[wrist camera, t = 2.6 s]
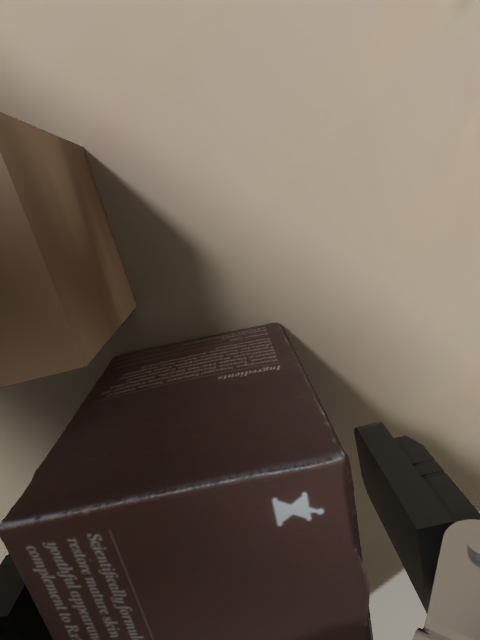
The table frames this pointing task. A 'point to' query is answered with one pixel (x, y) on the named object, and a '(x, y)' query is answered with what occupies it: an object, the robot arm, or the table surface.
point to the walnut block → (53, 258)
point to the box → (196, 504)
